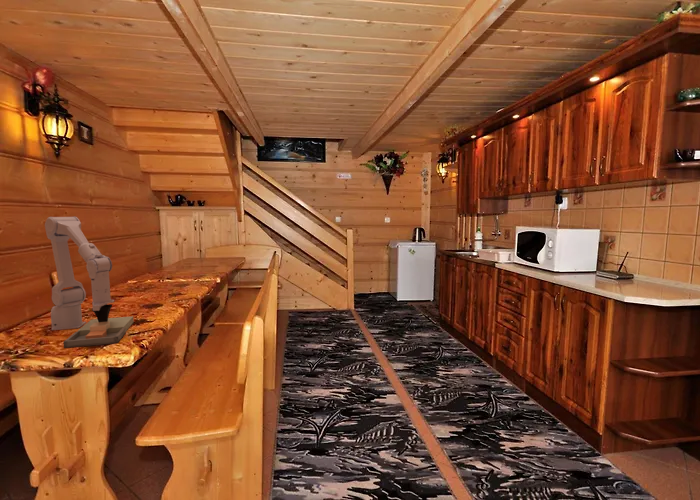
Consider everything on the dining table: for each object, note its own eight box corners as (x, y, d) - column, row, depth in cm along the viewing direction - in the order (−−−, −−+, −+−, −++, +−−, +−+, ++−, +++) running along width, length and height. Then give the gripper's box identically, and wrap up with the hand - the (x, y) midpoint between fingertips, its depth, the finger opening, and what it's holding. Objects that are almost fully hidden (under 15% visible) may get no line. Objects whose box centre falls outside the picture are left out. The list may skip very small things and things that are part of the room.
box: (63, 348, 127) (63, 341, 127) (76, 337, 137) (75, 331, 137) (117, 343, 132) (117, 336, 132) (125, 333, 142) (125, 327, 142)
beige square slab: (77, 337, 138) (77, 330, 137) (91, 325, 152) (91, 319, 152) (124, 333, 142) (123, 326, 142) (133, 322, 156) (133, 316, 156)
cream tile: (90, 332, 136) (89, 326, 136) (94, 327, 141) (94, 322, 141) (105, 330, 138) (105, 325, 137) (110, 326, 142) (109, 321, 142)
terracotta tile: (85, 341, 132) (85, 336, 131) (91, 337, 136) (90, 331, 136) (102, 340, 133) (101, 334, 133) (106, 335, 138) (106, 330, 138)
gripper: (107, 292, 135) (109, 329, 137) (118, 285, 149) (120, 318, 150) (84, 294, 133) (87, 331, 135) (97, 286, 147) (100, 320, 148)
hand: (103, 324), depth 142 cm, fingers closed
